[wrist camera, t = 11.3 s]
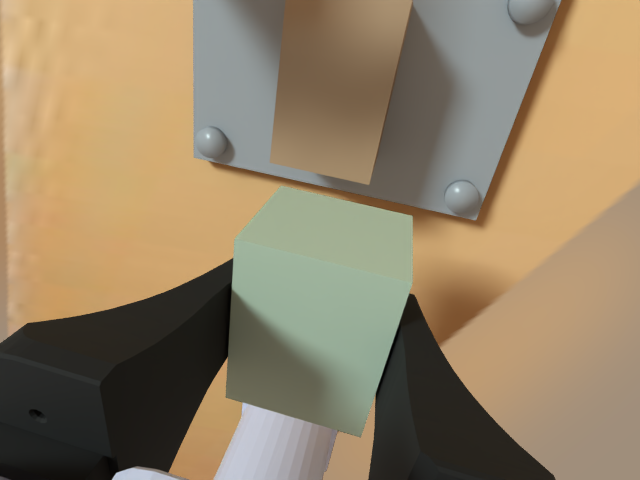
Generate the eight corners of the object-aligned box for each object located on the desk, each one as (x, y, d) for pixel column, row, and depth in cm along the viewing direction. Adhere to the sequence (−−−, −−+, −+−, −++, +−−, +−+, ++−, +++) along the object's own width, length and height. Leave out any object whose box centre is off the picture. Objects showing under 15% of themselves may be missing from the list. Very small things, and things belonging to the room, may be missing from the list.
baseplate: (473, 212, 21) (477, 225, 20) (201, 152, 23) (188, 160, 22) (563, -25, 16) (577, -31, 15) (203, -80, 18) (186, -90, 17)
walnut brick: (376, 160, 20) (369, 184, 17) (293, 141, 21) (269, 162, 17) (413, 4, 17) (413, -5, 13) (312, -13, 17) (287, -26, 14)
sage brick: (372, 348, 16) (360, 437, 12) (265, 319, 16) (225, 397, 13) (412, 215, 13) (412, 282, 9) (281, 185, 13) (234, 238, 10)
